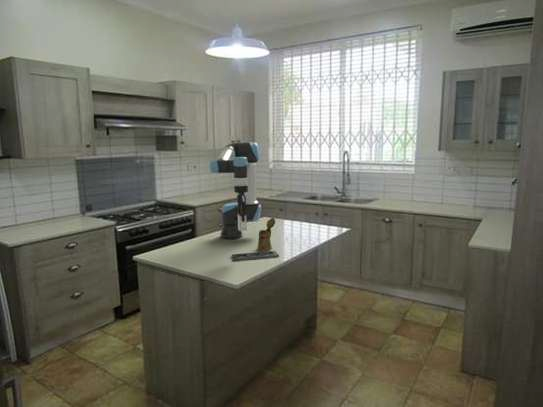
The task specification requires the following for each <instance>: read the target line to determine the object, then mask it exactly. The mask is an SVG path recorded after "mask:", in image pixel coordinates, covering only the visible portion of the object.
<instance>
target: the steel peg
mask: <svg viewBox="0 0 543 407" xmlns="http://www.w3.org/2000/svg"><path fill="white" fill-rule="evenodd" d="M239 215H241V214H238V230H239V231H242V232H244V231H247V230H248V227H247V225H246V227H241V224H240V216H239ZM245 223H246V224H247V222H246V215H245Z"/></svg>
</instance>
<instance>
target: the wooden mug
mask: <svg viewBox="0 0 543 407" xmlns="http://www.w3.org/2000/svg"><path fill="white" fill-rule="evenodd" d="M275 224H276V219H275V218H274V217H272V218H270V219H268V220H267V222H266V229H262V230H259V232H258V242H257V248H256V249H257V250H259V251H271V250H272V249H273V247H272V243H271V237H272V228H273V227H274V226H275Z"/></svg>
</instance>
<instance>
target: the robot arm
mask: <svg viewBox="0 0 543 407" xmlns="http://www.w3.org/2000/svg"><path fill="white" fill-rule="evenodd" d="M259 160H261V159H260V149H259V145H258V143H257V142H252V141H251V142H232V143H229V144H227V145H225V146H224V147H223V148H222V149H221V150H220V155H219V157H218V158H217V159H214V160H211V161H210V163H209V169H210V173H211V174H233V179H232V181H233V183H234V184H233V185H234V189H233V191H234V193H236V194H237V195H236V199H237V202H231V203H226V204H223V206H222V207H221V213H222V214H221V216H222V227H221V230H220V238H221V239H225V240H235V239H236V240H237V239H240V238H242V237H243V231H239V230H238V214H241V215H239V216H240V224H241V227H246V226H247V223H249V222H253V223H254V222H258V221H260V218H261V210H262V205H261V204H259V201H258V200H257V177H256V176H257V170H256V165H257V164H258V162H259ZM245 215H246V223H245Z"/></svg>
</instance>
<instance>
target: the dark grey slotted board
mask: <svg viewBox="0 0 543 407" xmlns="http://www.w3.org/2000/svg"><path fill="white" fill-rule="evenodd" d="M279 257H280V254H279V253H278V252H277V251H276V250H264V251H257V252H245V253H244V252H243V253H235V254H234V253H233V254H231V258H232V260H233V261H234V262H239V261H240V262H241V261H250V260H259V259H271V258H272V259H273V258H279Z"/></svg>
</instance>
